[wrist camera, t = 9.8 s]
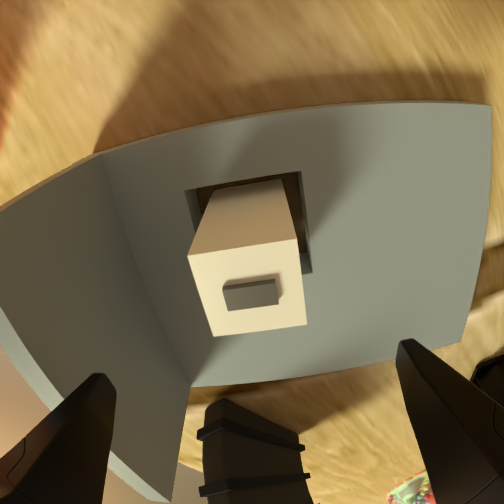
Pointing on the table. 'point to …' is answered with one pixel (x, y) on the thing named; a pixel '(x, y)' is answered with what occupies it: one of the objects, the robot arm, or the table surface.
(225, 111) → the table surface
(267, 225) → the block
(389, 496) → the candy landscape model
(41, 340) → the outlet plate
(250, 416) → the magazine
